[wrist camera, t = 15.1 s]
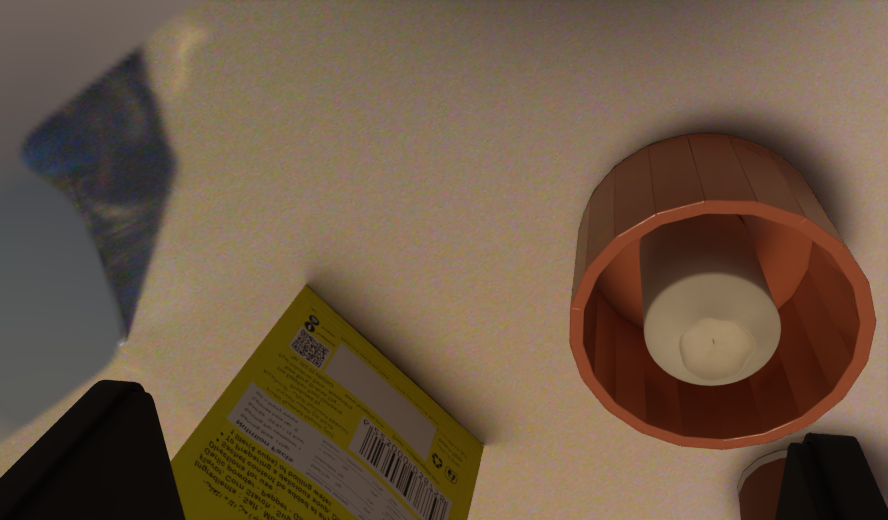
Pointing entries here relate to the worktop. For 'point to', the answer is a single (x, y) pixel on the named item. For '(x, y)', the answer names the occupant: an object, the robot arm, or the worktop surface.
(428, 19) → the worktop surface
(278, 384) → the food package
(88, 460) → the robot arm
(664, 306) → the candle
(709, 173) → the pot cup
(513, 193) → the worktop surface
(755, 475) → the coffee cup
